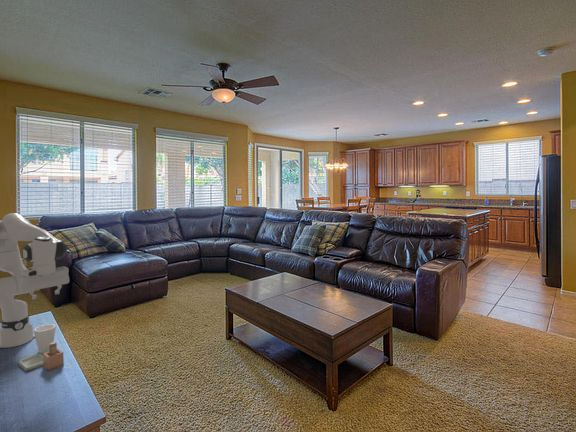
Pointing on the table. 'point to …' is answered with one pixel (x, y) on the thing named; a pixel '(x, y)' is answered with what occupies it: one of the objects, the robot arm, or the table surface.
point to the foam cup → (44, 337)
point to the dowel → (52, 348)
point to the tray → (31, 362)
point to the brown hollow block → (53, 360)
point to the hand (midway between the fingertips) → (46, 296)
